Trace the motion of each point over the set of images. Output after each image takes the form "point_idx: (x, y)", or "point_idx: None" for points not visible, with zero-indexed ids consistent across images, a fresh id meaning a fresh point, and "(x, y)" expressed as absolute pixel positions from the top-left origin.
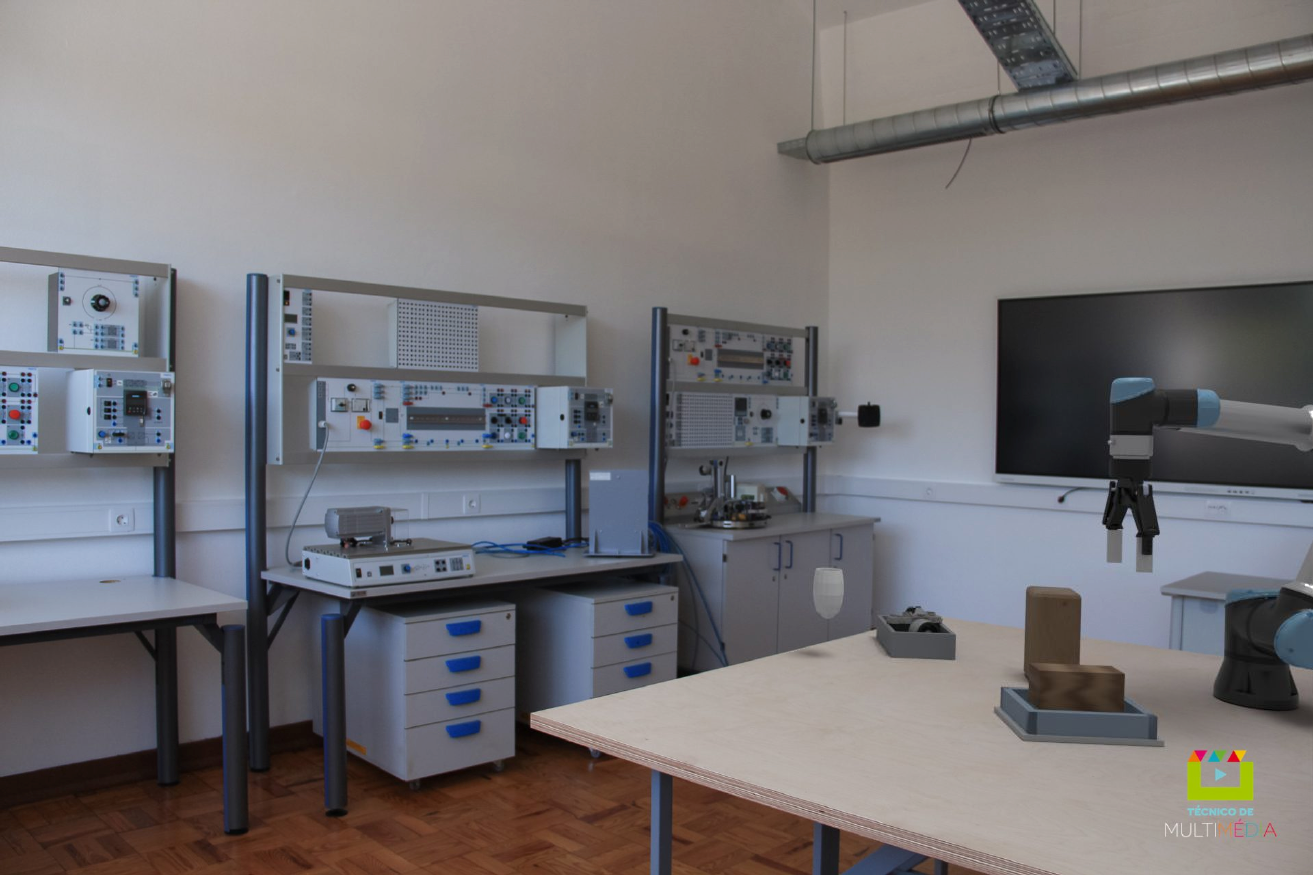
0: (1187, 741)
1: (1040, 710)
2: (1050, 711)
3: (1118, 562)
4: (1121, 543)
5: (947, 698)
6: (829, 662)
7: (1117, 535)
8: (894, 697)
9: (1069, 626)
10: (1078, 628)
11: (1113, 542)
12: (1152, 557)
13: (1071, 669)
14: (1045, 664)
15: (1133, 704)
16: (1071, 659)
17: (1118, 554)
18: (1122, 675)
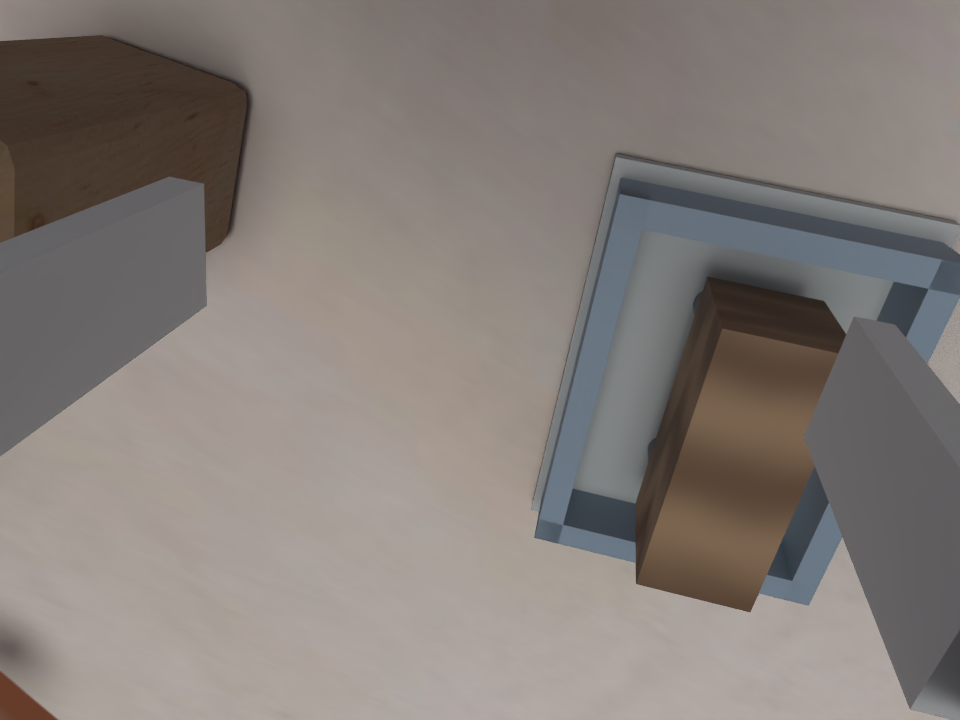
0: (928, 95)
1: (806, 572)
2: (821, 552)
3: (202, 215)
4: (80, 248)
5: (406, 548)
6: (86, 647)
7: (8, 332)
8: (402, 652)
9: (115, 173)
10: (119, 129)
11: (81, 341)
12: (954, 402)
13: (753, 509)
14: (666, 548)
15: (805, 252)
16: (198, 134)
17: (158, 239)
18: None
